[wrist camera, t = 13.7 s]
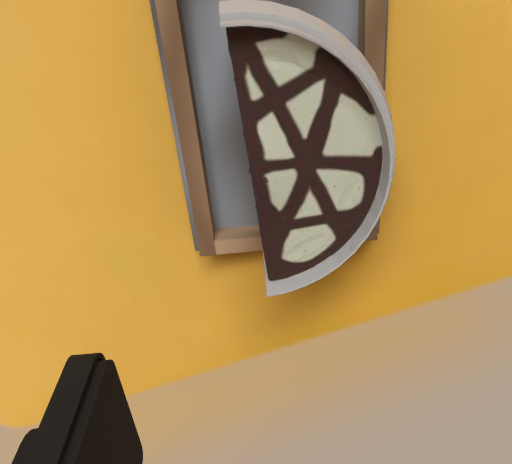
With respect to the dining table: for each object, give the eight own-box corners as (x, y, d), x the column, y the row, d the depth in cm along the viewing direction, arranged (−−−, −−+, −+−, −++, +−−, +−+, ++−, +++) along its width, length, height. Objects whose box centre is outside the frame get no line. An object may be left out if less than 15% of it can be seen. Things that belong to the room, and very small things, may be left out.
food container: (359, 190, 30) (407, 287, 21) (260, 205, 30) (268, 306, 22) (348, -35, 24) (409, -26, 15) (224, -14, 24) (216, 7, 16)
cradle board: (386, -98, 24) (401, -103, 21) (375, 226, 33) (385, 245, 30) (140, -71, 24) (130, -73, 22) (196, 242, 33) (193, 263, 31)
